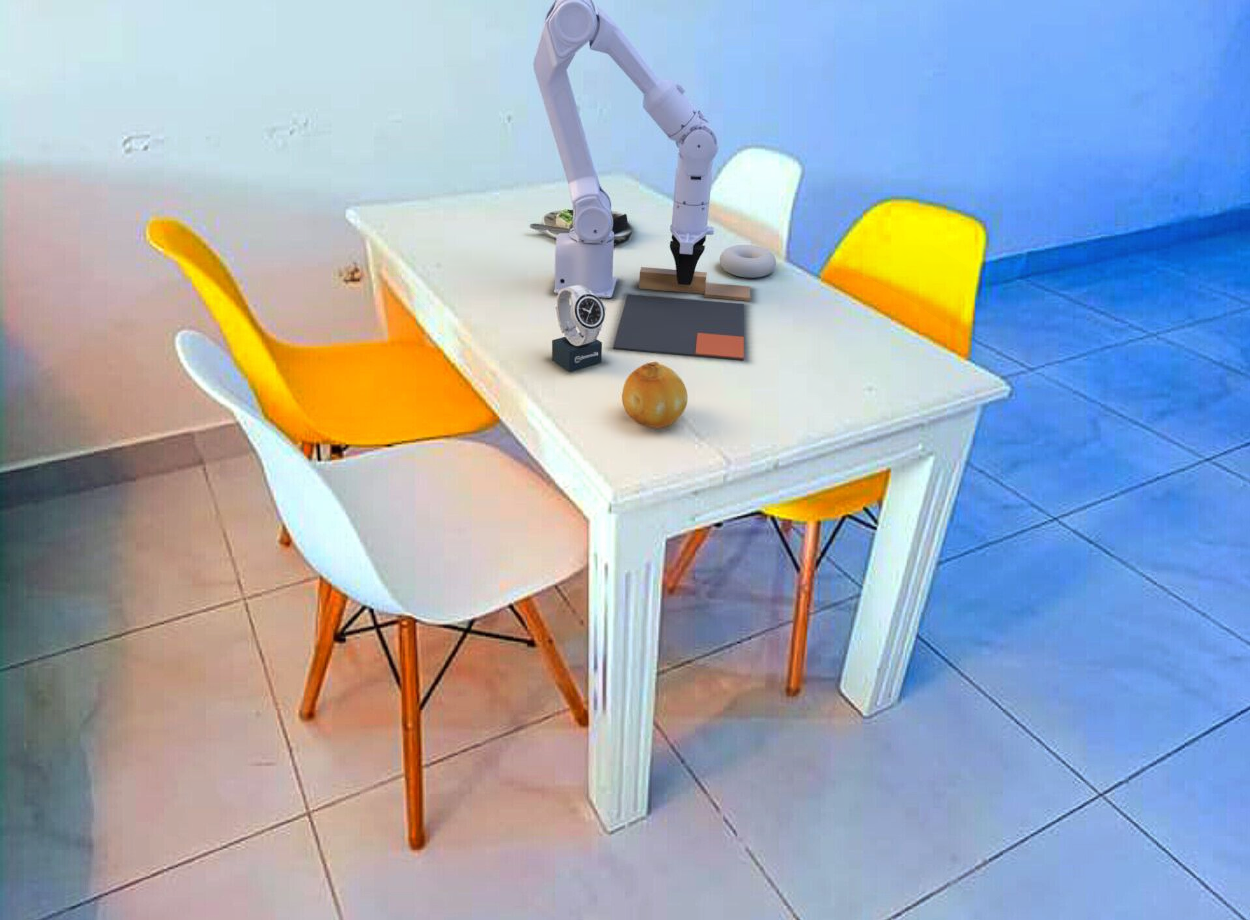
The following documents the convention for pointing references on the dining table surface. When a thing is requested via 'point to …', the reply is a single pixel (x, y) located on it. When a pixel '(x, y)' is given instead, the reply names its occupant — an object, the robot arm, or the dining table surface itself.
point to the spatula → (668, 282)
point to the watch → (588, 319)
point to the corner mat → (682, 327)
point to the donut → (747, 261)
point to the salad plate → (564, 222)
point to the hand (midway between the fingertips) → (684, 280)
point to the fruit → (654, 395)
